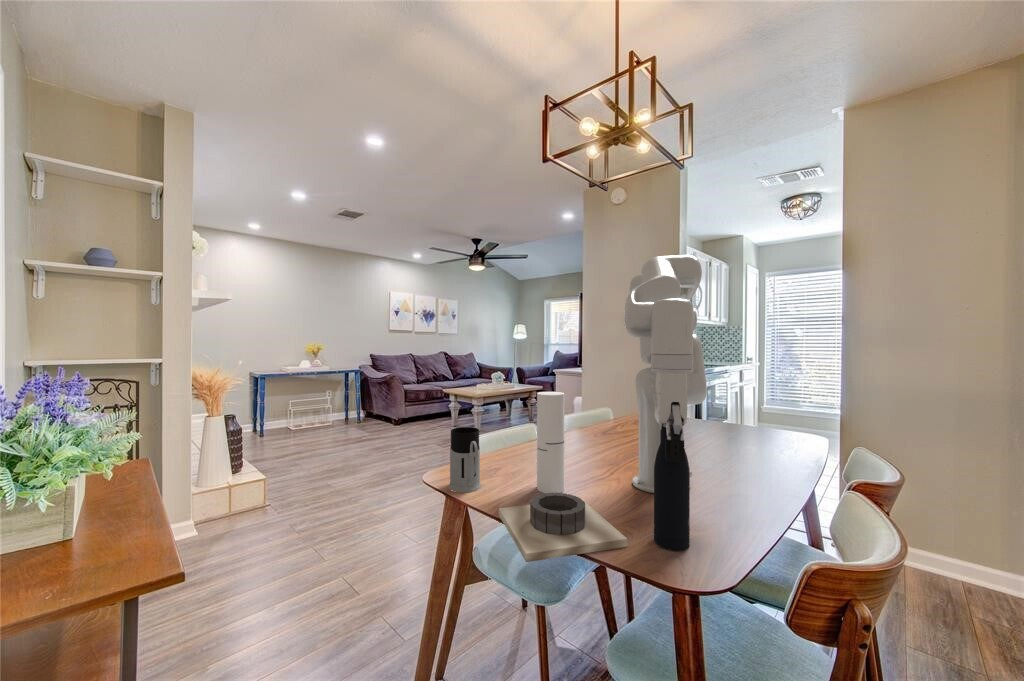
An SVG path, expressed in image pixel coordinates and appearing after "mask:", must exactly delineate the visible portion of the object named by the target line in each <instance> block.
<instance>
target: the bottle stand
mask: <svg viewBox="0 0 1024 681" xmlns="http://www.w3.org/2000/svg"><path fill="white" fill-rule="evenodd" d="M498 516H499V519H500V520H501V522H502V523H503V525H504V526H505V529H506V530H507V532H508V533H509V535H510V537H511V538H512V540H513V542H514V544H515V546H516V548H517V549H518V552H520V554H521V556H522V558H523V559H524V561H525V563H530V562H536V561H543V560H550V559H556V558H562V557H568V556H569V557H570V556H576V555H581V554H588V553H595V552H602V551H607V550H614V549H615V550H616V549H621V548H626V547H628V538H627V537H626V536H625V535H623V533H621V532H620V531H619V530H618V529H616V528H615V527H614V526H613V525H612V524H611V523H610V522H609V521H607V520H606V519H605V518H604V516H602V515H600V514H599V512H597V511H596V510H595V509H594V508H592V507H591V506H590V505H589V504H588V503H586V502H585V501H584V500H583V499H582V498H581V497H579V496H576V495H573V494H569V493H562V492H561V493H541V494H540V493H539V494H538V495H535V496H533V498H532V499H531V500H530V502H529V504H526V505H525V504H524V505H518V506H516V505H515V506H509V507H507V506H506V507H499V508H498Z"/></svg>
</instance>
